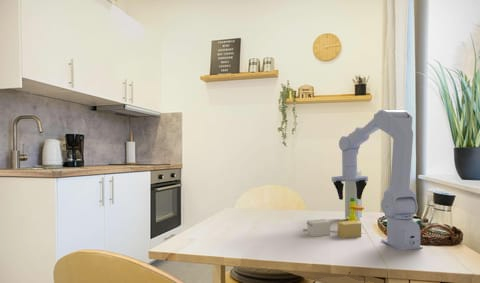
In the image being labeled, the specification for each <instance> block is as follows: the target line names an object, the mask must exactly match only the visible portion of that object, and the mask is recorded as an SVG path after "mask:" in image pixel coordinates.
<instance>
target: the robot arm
mask: <svg viewBox="0 0 480 283" xmlns="http://www.w3.org/2000/svg"><path fill="white" fill-rule="evenodd" d="M412 127H413V115H412V114H410V113H409V111H407V110H404V109H401V110H386V109H380V110H378V111H377V112H376V113H374V115H373V118H371V120H370V121H369V122H368V123H367V124H365V125H364V127H356V128H355V129H354V131H352V132H351V133H349V134H348V135H347V136H341V137H340V139H339V140H338V141H339V142H338V147H339V149H340V150H341V161H342V162H341V164H342V168H341V170H342V172H341V173H342V175H339V176H331V182H333V186H334V187H335V190H336V192H337V195H338V199H339V200H341V201H343V200H344V187H345V181H356V188H357V199H361V196H362V195H363V193H364V190H365V188H366V186H367V182H368V181H369V177H368V176H366V175H361V176H357V171H358V155H359V149H360V147H361V145H362V144H364V143H365V142H367V141H368V140H369V139H370V135H372V134H373V133H376V132H377V131H379V130H381V131H382V132H384V133H385V134H387V135H389V136H390V137H391V138H392V141H393V142H392V156H391V157H392V158H391V170H390V171H391V173H390V186H389V187H387V189H386V190H385V191H383V197H382V200H381V202H380V208H381V210H382V212H383V214H384V216H385V217H386V231H387V232H386V238H383V239H381V240H380V241H381V242H383V243H385V244H387V245H390V246H391V247H393V248H396V249H398V250H400V251H409V250H419V249H423V246H422V245H421V227H420V225H419V223H418V222H416V221H414V220H413V218H414V217H415V216H414V215H415V214H416V213H418V209H419V205H418V202H417V201H418V200H417V194H416V192H414V191H413V190H412V189H411V188H410V183H411V170H412V154H413V139H414V132H413V128H412ZM346 179H351V180H346ZM353 179H355V180H353ZM343 182H344V183H343ZM362 197H363V196H362Z"/></svg>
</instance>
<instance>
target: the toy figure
mask: <svg viewBox="0 0 480 283" xmlns="http://www.w3.org/2000/svg"><path fill="white" fill-rule="evenodd" d="M350 200H351V201H350V207H349V209H350V212H351V215H350V216H349V217H347V218H346V219H347V221H354V220H355V221H357V222H358V220H357V217H356V216H355V210H362V211H364V209H365V208H364V207H363V206H362V207H359V206H356V202H355V200H354V198H350Z"/></svg>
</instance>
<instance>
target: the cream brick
mask: <svg viewBox="0 0 480 283" xmlns="http://www.w3.org/2000/svg"><path fill="white" fill-rule="evenodd" d="M306 225H307V228H306V229H307V232H306V233H307V235H309V236H311V237H319V236H320V237H322V236H330V235H331V232H330V231H331V221H329V220H327V219H325V218H322V219H319V218H318V219H310V220H306Z"/></svg>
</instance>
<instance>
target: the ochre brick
mask: <svg viewBox="0 0 480 283" xmlns="http://www.w3.org/2000/svg"><path fill="white" fill-rule="evenodd" d="M336 223H337V231H338V233H337V236H338V237H341V238H343V239H345V238H346V239H348V238H360V237H361V238H362V234H361V233H362V223H361V222H359V221H358V220H357V221H355V220H354V221H349V220H345V221H344V220H343V221H337V222H336Z"/></svg>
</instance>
